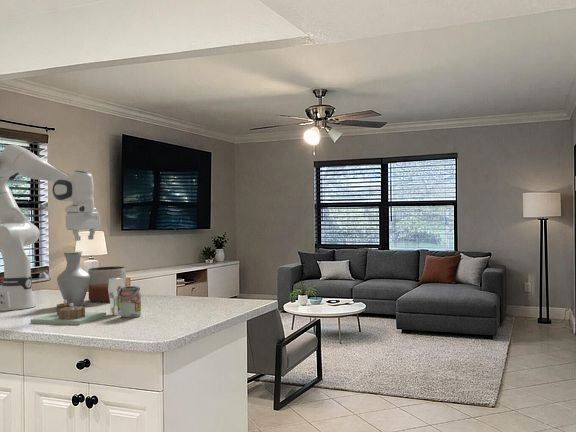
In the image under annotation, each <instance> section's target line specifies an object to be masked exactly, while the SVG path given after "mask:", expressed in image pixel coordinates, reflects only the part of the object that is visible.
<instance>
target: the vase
mask: <svg viewBox="0 0 576 432" xmlns="http://www.w3.org/2000/svg"><path fill="white" fill-rule="evenodd" d="M82 254H83V251H65V252H63V255H64V257H65V259H66V260H65V261H66V266H65V268H64V270H63V271H62V272H61V273H59V274H58V275H57V277H56V282H57V286H58V288H59V291H60V294H61V297H62V299H63V302H64V301H65V300H66V302H67V303H73V306H76V307H83V303H84V301H85V298H86V295H87V292H88V286H89V282H90V275H89V274H88V272H87V271H85V270H84V269H83V268H82V266H81V264H80V262H81V257H82Z"/></svg>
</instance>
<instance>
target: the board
mask: <svg viewBox="0 0 576 432" xmlns="http://www.w3.org/2000/svg"><path fill="white" fill-rule="evenodd" d="M63 303H64V305H67V302H66V300H65V301H64V300H63ZM58 313H59V315H57V311H56V312H54V313H49V314H47V315H42V316H39V317H35V318H34V317H33V318H30V324H40V325H41V324H42V325H43V324H44V325H68V324H75V326H80V324H81V325H83V323H84V324H87V323H89V322H93V321H97V320H99V319H102V318H106V317H107V312H100V311H99V312H98V311H97V312H96V311H95V312H94V311H86V307H85V306H77V307H76V306H73V303H70V307H64V308H62V309H58ZM105 316H106V317H105ZM86 322H87V323H86Z"/></svg>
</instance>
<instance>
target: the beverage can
mask: <svg viewBox="0 0 576 432" xmlns="http://www.w3.org/2000/svg"><path fill="white" fill-rule="evenodd" d="M140 290H141V287H140V286H135V285H131V286H130V285H129V286H126V287H121V289H120V291H119V293H118V297H119V298H120V312H121V315H120V317H121V318H123V319H134V318H135V319H136V318H139V317H141V315H142V300H141V297H142V296H141V292H140Z"/></svg>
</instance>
